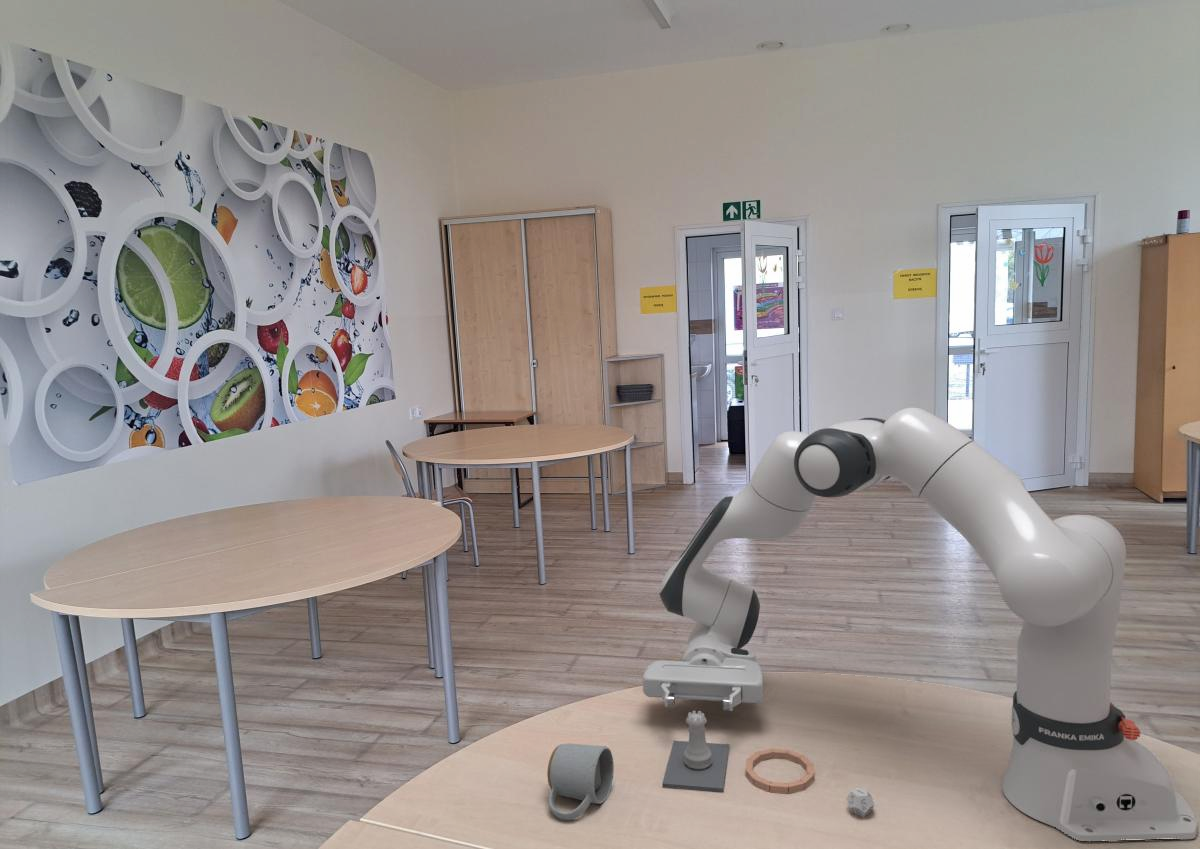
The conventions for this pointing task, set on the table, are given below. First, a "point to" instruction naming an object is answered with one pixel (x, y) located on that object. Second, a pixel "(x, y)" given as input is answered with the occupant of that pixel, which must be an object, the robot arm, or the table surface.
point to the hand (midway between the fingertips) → (698, 704)
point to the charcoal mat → (696, 779)
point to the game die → (860, 801)
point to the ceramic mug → (580, 776)
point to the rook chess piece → (697, 743)
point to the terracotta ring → (778, 786)
